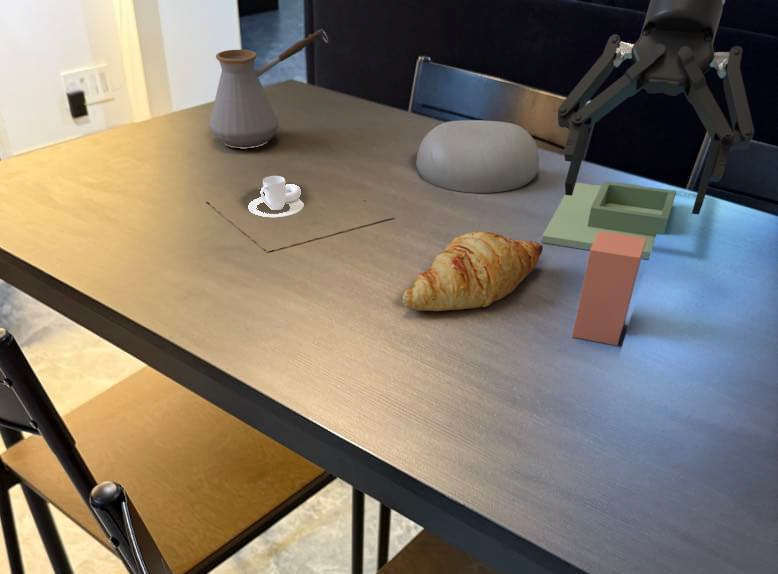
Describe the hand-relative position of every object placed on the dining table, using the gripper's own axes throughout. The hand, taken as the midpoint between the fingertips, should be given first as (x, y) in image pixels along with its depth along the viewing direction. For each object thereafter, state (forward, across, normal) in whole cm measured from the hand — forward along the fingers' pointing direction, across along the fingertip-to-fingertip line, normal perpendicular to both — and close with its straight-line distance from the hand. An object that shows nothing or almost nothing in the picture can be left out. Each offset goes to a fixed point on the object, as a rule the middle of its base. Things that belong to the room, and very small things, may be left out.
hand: (631, 199), depth 82 cm
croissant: (+11, +16, -6) cm, 20 cm away
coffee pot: (-17, +63, -35) cm, 74 cm away
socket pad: (-8, +1, -25) cm, 26 cm away
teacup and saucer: (+1, +46, -16) cm, 49 cm away
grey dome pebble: (-15, +26, -32) cm, 44 cm away
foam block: (+13, 0, -3) cm, 14 cm away
